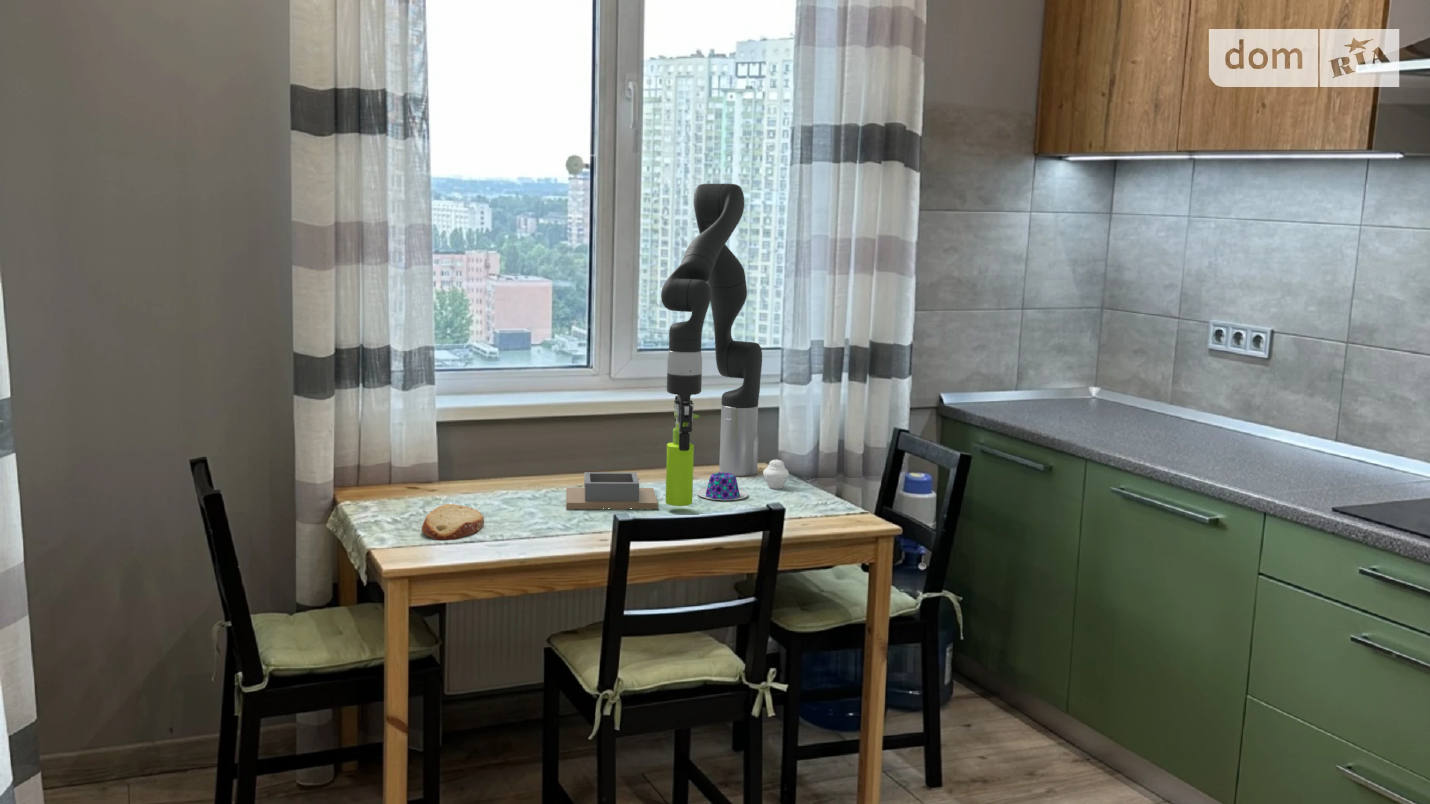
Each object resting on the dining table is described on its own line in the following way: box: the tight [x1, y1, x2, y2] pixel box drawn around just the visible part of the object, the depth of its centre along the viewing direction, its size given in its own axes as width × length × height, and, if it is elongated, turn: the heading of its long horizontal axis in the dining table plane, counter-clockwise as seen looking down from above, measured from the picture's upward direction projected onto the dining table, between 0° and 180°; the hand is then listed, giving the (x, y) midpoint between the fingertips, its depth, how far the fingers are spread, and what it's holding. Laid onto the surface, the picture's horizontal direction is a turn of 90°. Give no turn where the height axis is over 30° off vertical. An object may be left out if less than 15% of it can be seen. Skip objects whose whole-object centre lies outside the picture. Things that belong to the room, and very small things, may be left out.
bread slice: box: [421, 503, 485, 541], centre depth 254 cm, size 18×18×4 cm
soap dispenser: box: [665, 413, 700, 507], centre depth 270 cm, size 6×7×20 cm
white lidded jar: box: [762, 458, 790, 490], centre depth 296 cm, size 6×6×7 cm
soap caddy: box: [565, 471, 659, 510], centre depth 277 cm, size 20×14×6 cm
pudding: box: [696, 472, 749, 501], centre depth 287 cm, size 12×12×5 cm
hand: (682, 446), depth 270 cm, fingers closed on soap dispenser, 6 cm apart
